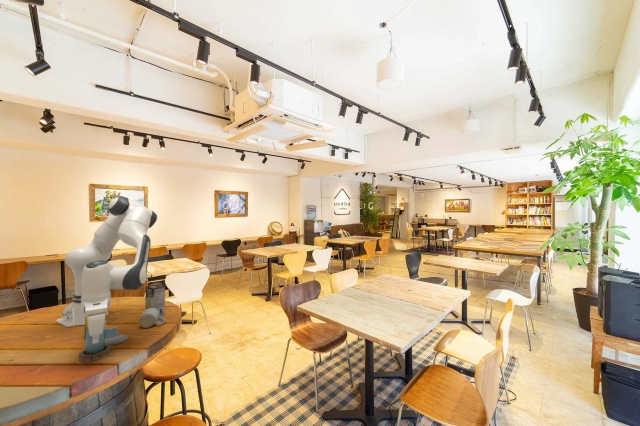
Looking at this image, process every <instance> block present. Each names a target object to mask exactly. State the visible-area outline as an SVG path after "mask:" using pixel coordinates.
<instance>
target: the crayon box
mask: <svg viewBox="0 0 640 426" xmlns="http://www.w3.org/2000/svg"><path fill="white" fill-rule="evenodd" d="M107 312H108V311H107ZM107 312H106V315H105V322H104V327H105V329H108V328H107V325H108V324H107V323H108V321H107V319H108V317H107V316H108V315H107ZM86 330H88V321H87V316H85V325H84V339H86Z"/></svg>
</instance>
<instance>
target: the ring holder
mask: <svg viewBox="0 0 640 426" xmlns="http://www.w3.org/2000/svg"><path fill="white" fill-rule="evenodd" d="M85 351H86V348H84V349H83V350H81V351H80V352H79V353H78V361H79V362H83V363H86V362H93V361H97V360H100V359H104V358H105V357H108V356H109V355H110V354H111V353H112V345H108V344H105V347H104V349H103V350H102V351H99V352H96V353H91V354H87V353H85Z"/></svg>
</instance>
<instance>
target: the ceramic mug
mask: <svg viewBox="0 0 640 426" xmlns="http://www.w3.org/2000/svg"><path fill="white" fill-rule="evenodd" d="M159 316H160V313H159V311H158V310H157V309H155V308H148V309H146V310H145V309H144V310H143V313H142V314H141V316H140V317H139V320H138V324H139V326H140V327H142V328H144V329H147V328H151V327H153V326H154V325H157V326H162V325H164V324H165V322H166V319H165V318H163V316H162V317H159Z"/></svg>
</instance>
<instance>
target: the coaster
mask: <svg viewBox="0 0 640 426" xmlns="http://www.w3.org/2000/svg"><path fill="white" fill-rule="evenodd" d="M128 337H129V336H128V335H126V334H119V335H118V336H116V337H111V338H107V339H105V344H108V345H111V346H115V345H118V344H122V343H123V342H125V341H127V340H128Z"/></svg>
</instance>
